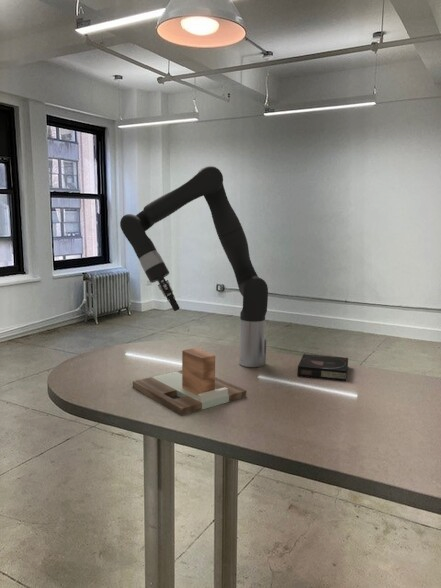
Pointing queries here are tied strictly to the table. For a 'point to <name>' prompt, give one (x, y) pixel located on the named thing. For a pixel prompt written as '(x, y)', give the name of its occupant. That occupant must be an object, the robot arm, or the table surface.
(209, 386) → the block
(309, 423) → the table surface
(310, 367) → the portable cd player
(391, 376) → the table surface
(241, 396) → the lane board
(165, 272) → the robot arm
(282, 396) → the table surface
